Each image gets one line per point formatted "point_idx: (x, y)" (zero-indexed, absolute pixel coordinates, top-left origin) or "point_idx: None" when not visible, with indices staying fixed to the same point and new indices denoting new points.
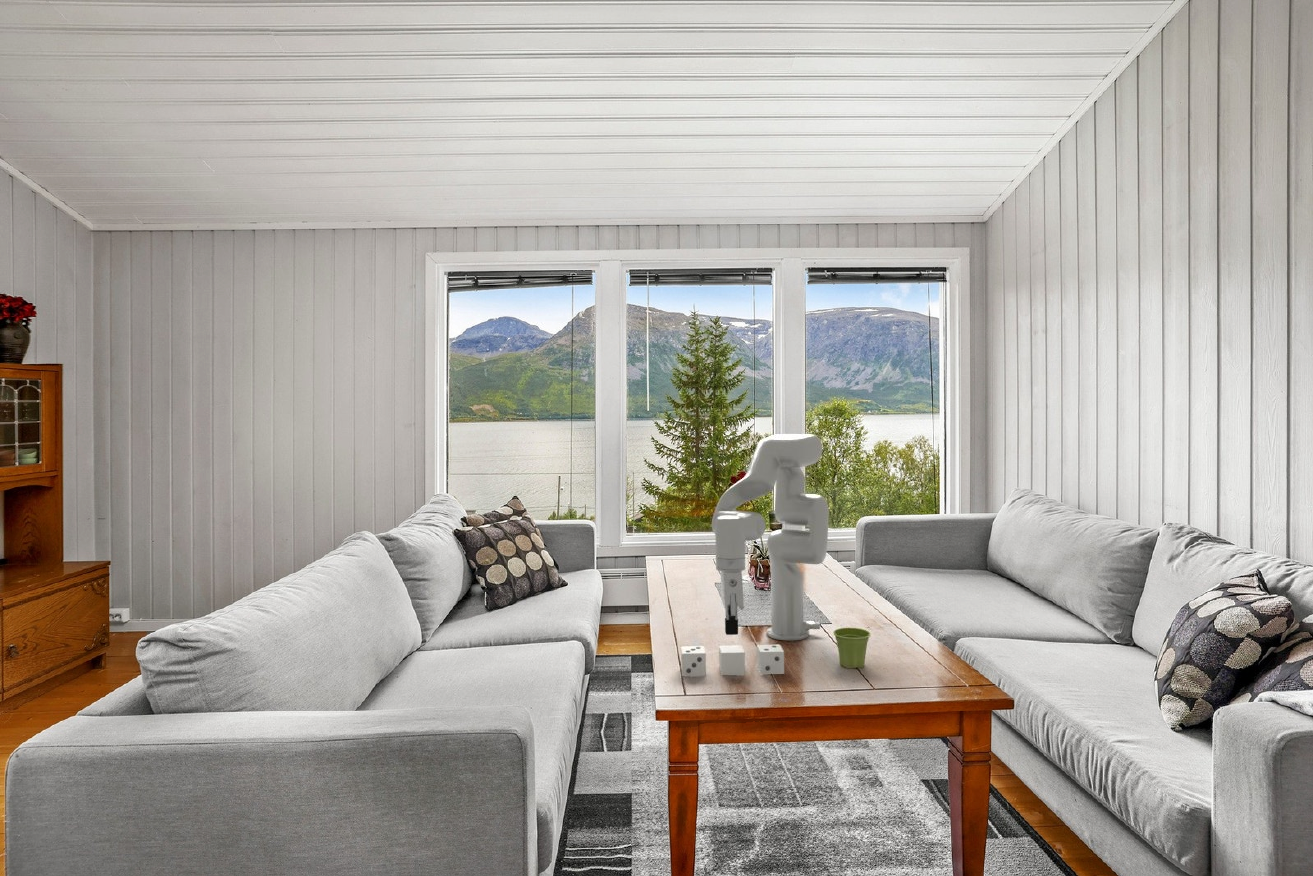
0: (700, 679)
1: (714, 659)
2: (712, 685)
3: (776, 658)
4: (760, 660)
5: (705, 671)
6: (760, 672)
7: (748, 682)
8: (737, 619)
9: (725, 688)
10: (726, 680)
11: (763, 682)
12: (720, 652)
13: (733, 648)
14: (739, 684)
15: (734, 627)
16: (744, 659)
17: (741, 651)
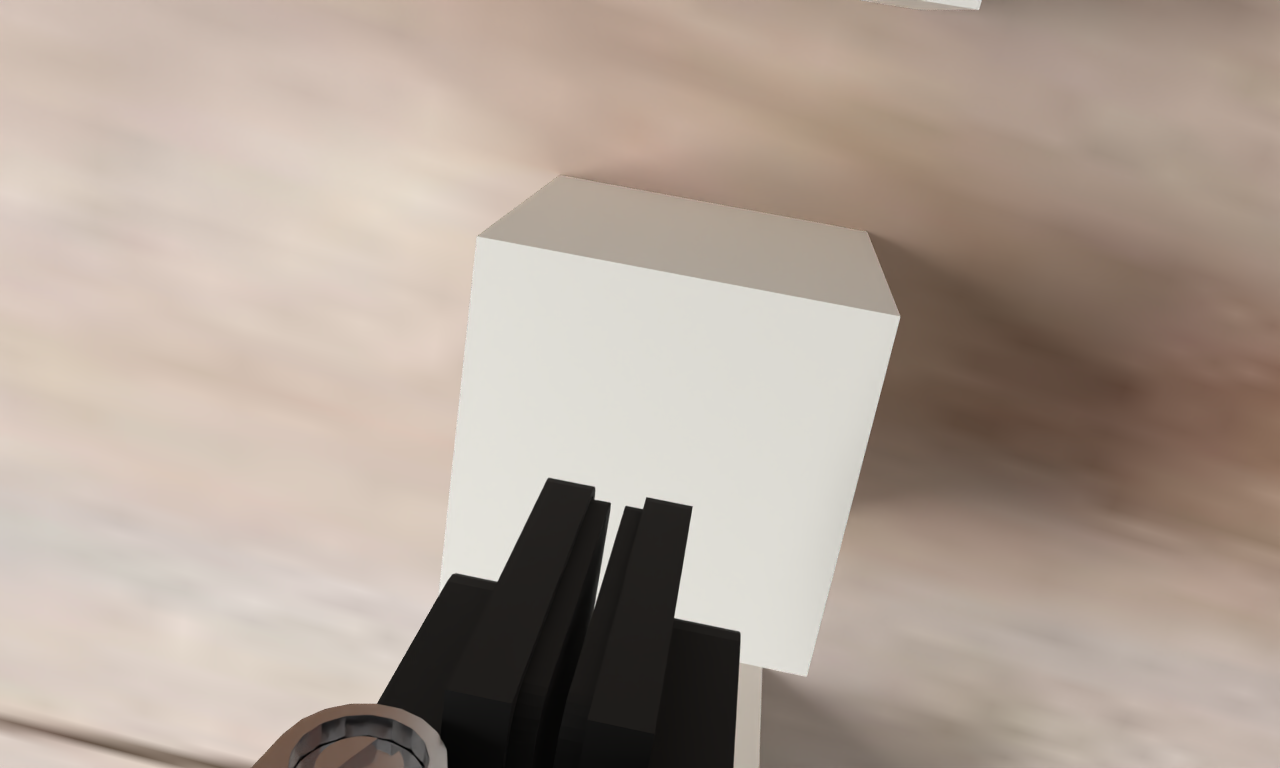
0: (849, 743)
1: (208, 419)
2: (1080, 688)
3: None
4: (945, 8)
5: (759, 703)
6: (901, 6)
7: (1144, 269)
8: (646, 741)
9: (1234, 590)
10: (974, 502)
11: (1226, 67)
12: None
13: (626, 432)
14: (1170, 400)
15: (736, 705)
16: (889, 290)
17: (828, 354)
